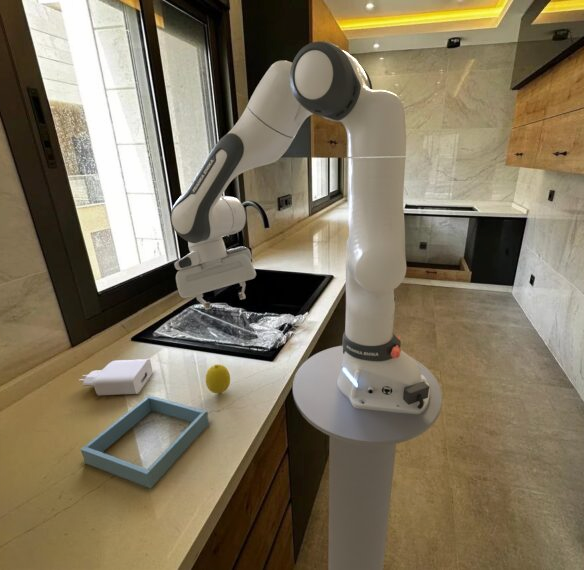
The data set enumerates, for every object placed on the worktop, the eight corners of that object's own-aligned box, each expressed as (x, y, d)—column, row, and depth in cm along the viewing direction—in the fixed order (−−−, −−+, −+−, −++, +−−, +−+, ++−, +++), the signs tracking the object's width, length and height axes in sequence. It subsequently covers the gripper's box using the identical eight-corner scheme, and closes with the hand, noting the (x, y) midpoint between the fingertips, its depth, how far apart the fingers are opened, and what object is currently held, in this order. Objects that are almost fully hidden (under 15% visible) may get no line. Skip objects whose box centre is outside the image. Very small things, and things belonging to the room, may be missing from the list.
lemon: (219, 383, 83) (215, 356, 80) (236, 389, 81) (233, 362, 78) (202, 396, 78) (198, 368, 75) (220, 403, 76) (216, 374, 73)
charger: (94, 374, 86) (153, 372, 87) (71, 398, 77) (137, 395, 78) (89, 359, 84) (149, 357, 85) (65, 382, 75) (132, 379, 76)
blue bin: (209, 423, 70) (206, 411, 69) (150, 488, 56) (146, 474, 55) (151, 407, 75) (149, 394, 73) (85, 463, 61) (80, 449, 60)
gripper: (248, 244, 91) (263, 291, 93) (173, 264, 88) (190, 313, 90) (247, 244, 85) (263, 294, 87) (167, 265, 82) (185, 317, 84)
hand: (225, 303), depth 89 cm, fingers open, 8 cm apart
